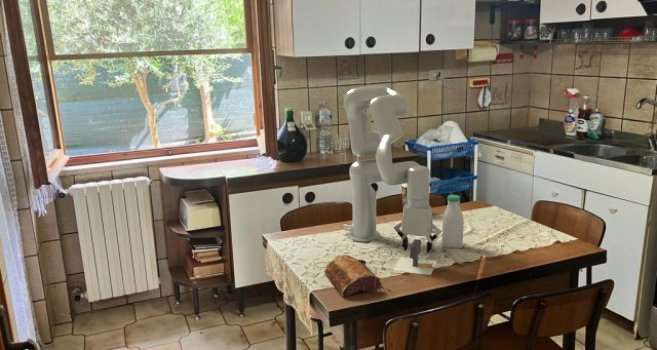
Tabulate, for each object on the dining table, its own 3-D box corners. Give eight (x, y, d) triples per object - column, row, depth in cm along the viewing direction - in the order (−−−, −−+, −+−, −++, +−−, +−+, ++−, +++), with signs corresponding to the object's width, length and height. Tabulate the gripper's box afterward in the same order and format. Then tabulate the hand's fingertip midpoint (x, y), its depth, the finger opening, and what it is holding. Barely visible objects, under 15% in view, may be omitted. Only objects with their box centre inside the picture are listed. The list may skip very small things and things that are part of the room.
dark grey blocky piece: (409, 269, 187) (410, 246, 185) (414, 261, 193) (414, 239, 191) (430, 271, 184) (431, 248, 182) (434, 263, 190) (434, 241, 188)
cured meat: (361, 259, 199) (361, 242, 197) (394, 288, 176) (393, 268, 174) (315, 269, 193) (314, 251, 191) (342, 299, 170) (341, 279, 168)
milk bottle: (462, 250, 205) (464, 199, 200) (441, 249, 206) (443, 198, 201) (462, 243, 212) (464, 193, 207) (441, 242, 214) (443, 193, 209)
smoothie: (400, 216, 245) (401, 173, 240) (401, 211, 253) (402, 169, 248) (419, 217, 243) (420, 173, 238) (419, 211, 251) (420, 169, 246)
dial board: (392, 273, 186) (392, 269, 186) (401, 259, 198) (401, 256, 197) (430, 278, 182) (430, 274, 182) (437, 264, 193) (437, 260, 193)
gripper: (390, 203, 186) (389, 251, 190) (441, 207, 180) (440, 257, 184) (395, 197, 193) (395, 244, 197) (445, 201, 187) (443, 249, 191)
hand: (416, 250), depth 190 cm, fingers open, 7 cm apart
